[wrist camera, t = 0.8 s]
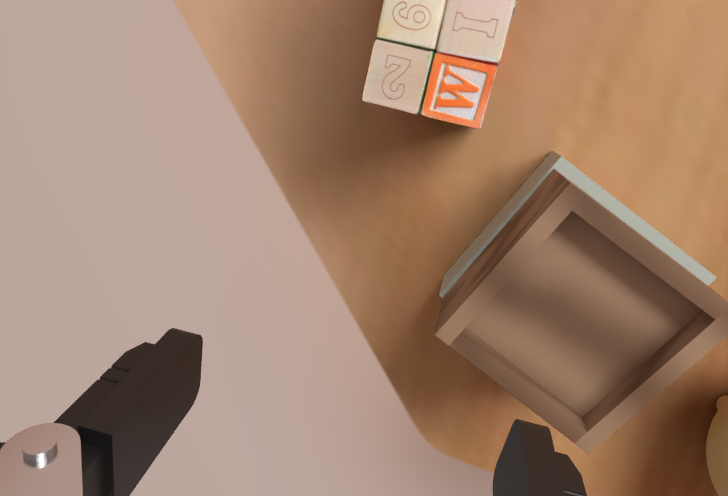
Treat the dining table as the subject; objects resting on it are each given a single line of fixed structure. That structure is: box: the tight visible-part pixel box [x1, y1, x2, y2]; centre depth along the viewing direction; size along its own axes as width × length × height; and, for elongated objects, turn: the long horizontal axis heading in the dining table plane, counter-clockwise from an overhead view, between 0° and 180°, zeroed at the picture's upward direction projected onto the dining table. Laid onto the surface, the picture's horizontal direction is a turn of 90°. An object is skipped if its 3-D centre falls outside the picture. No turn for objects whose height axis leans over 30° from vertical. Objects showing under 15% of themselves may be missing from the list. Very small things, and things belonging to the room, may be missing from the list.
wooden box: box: [435, 169, 728, 454], centre depth 30 cm, size 11×11×6 cm
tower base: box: [439, 151, 717, 298], centre depth 36 cm, size 12×12×5 cm
